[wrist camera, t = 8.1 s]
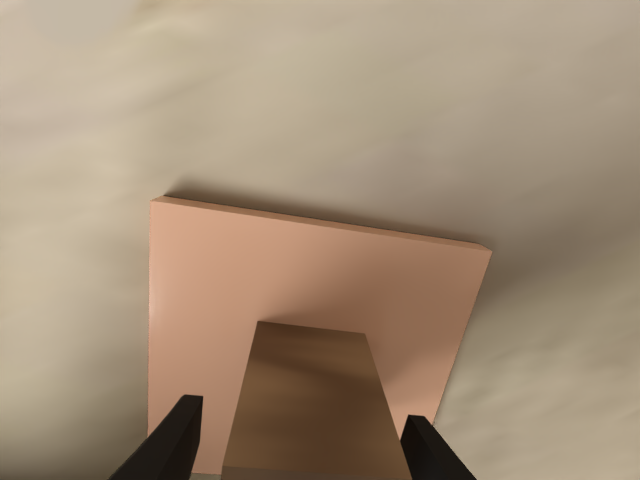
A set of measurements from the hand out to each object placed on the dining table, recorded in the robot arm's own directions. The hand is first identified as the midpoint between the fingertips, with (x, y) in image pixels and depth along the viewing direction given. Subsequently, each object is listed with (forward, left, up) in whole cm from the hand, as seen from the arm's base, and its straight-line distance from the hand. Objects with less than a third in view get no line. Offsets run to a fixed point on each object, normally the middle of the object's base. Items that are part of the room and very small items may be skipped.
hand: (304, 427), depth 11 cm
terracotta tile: (0, 0, -4) cm, 4 cm away
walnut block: (0, 0, -3) cm, 3 cm away
